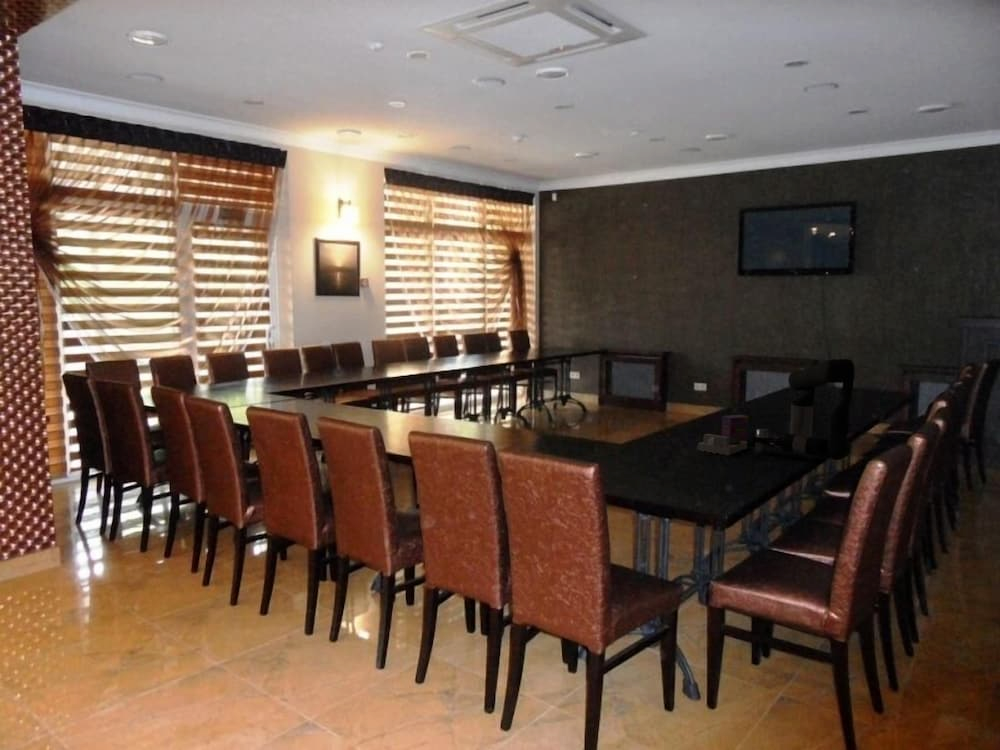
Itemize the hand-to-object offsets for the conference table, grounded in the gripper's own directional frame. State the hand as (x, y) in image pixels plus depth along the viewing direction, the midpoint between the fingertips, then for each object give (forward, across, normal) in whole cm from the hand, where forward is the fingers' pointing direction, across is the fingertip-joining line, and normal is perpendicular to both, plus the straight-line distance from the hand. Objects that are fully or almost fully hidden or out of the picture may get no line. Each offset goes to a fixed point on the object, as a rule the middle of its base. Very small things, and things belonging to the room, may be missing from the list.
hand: (755, 438), depth 306 cm
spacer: (-3, 0, +6) cm, 7 cm away
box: (+15, -15, +6) cm, 22 cm away
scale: (+12, +5, +6) cm, 15 cm away
